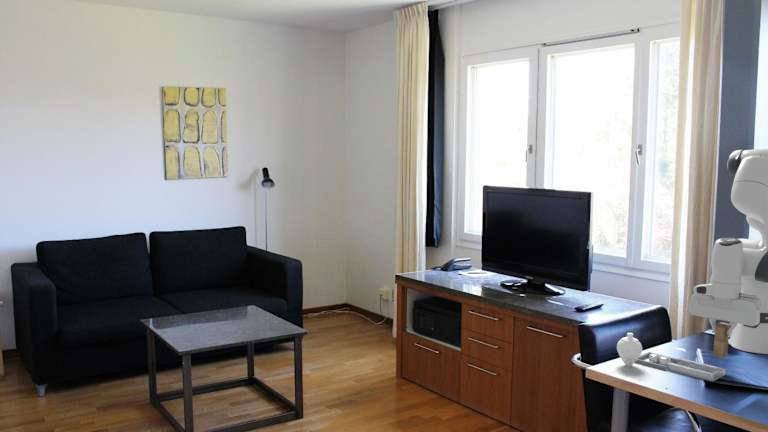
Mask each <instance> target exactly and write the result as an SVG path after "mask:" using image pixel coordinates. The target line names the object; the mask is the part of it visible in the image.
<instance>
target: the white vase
mask: <svg viewBox="0 0 768 432" xmlns="http://www.w3.org/2000/svg"><path fill="white" fill-rule="evenodd" d="M616 350H617V353H618V356H619V357H620V359H621V360H622V362H623V363H624V365H625V366H626V367H631V366H633V365H634V364H635V361H636V360H637V359H638V358H639V356H640V355H642V352H643V346H642V343H641V342H640V341H639V339H638V338H635V337H634V333H633V332H627V333H626V336H625V337H622V338H621V339H619V341H618V342H617V344H616Z"/></svg>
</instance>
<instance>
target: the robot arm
mask: <svg viewBox="0 0 768 432" xmlns="http://www.w3.org/2000/svg"><path fill="white" fill-rule="evenodd" d="M726 165H727V166H726V168H727V172H728V175H729V176H730V177H731V178H733V183H732V186H731V190H730V192H731V193H730V201H731V203H732V206H733V207H734V208H735V209H736V210H737V211H739V213H742V214H744V215H746V217H745V219H746V221H747V224H748V225H749V226H750V227H751V228H752V229H755V231H758V232H759V233H760V235H761V240H760V239H752V238H751V239H750V238H743V237H742V238H735V237H722V238H718V239H716V240H715V242H714V245H713V249H712V254H711V255H712V256H711V264H710V267H711V276H710V278H709V282H707V283H704V284H703V283H701V284H698V285H695V286H693V287H692V288H693V289H692V291H693V294H692V295H691V296H690V300H689V305H688V311H689V313H690V314H691V315H692V316H698V317H703V318H708V322H709V323H710V326H711V329H712V330H711V333H713V334H715V325H716V324H717V323H716V321H717V320H719V321H723V322H724V321H725V322H729V324H730V327H729V329H727V330H725V332H726V333H725V335H727V336H729V340H728V345H730V346H731V347H732V348H734V349H737V350H740V351H743V352H748V353H752V354H753V353H755V354H762V355H763V354H764V355H768V148H760V149H759V148H757V149H744V148H743V149H737V150H734V151H733V152H731V153H730V155H729V157H728V160H727V164H726Z"/></svg>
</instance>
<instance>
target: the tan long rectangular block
mask: <svg viewBox="0 0 768 432" xmlns="http://www.w3.org/2000/svg"><path fill="white" fill-rule="evenodd" d="M715 324H716V325H715V333H714V340H713V355H712V356H713V357H716V358H725V357H726V356H728V349H729V344H728V340H729V339H730V336H727V335H725V333H726V332H725V330H727V329H730V327H731V325H730V323H726V322H722V321H721V322H719V323H715Z"/></svg>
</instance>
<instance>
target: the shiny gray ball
mask: <svg viewBox="0 0 768 432" xmlns="http://www.w3.org/2000/svg"><path fill="white" fill-rule="evenodd" d="M660 355H661V354H659V355H658V353H655V354H649V357H648V362H652V363H656V364H659V357H660Z"/></svg>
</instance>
